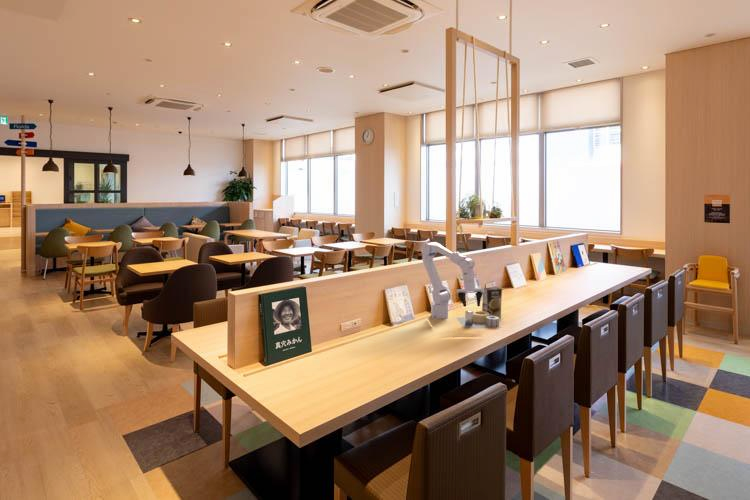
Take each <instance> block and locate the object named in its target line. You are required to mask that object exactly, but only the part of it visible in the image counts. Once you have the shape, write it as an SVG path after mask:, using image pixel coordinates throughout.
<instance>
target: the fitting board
mask: <svg viewBox="0 0 750 500" xmlns="http://www.w3.org/2000/svg"><path fill="white" fill-rule="evenodd" d="M472 311H473V325H466V324H465V316H464V317H462V316H461V317H456V319H457V320H458V322H459V323H460V324H461V325H462V327H463V328H464V329H494V328H495V329H497V328H501V329H502V328H504V327H503V326H502V325H501V324H500V316H499V317H498V316H497V315H493V316H490V313H488V312H485V311H482V310H472Z"/></svg>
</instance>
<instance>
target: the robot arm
mask: <svg viewBox="0 0 750 500" xmlns="http://www.w3.org/2000/svg"><path fill="white" fill-rule="evenodd" d="M420 252H421V257H422V259H421V260H422V262H423V264H424V268H425V271H426V273H427V275H428V278H429V280H430V283H431V286H432V288H433V289H432V290H431V294H432V301H433V302H434V303H431V304H430V316H431V318H432V320H433V319H439V320H440V319H441V320H442V319H443V320H445V319H448V317H449V303H450V302H449V301H450V300H451V297H452V294H451V292H450V291H449V290H448V288H447V287H446V286H445V285H443V283H442V279H441V277H440V275H439V272H438V270H437V268H436V265H435V262H434V257H436V255H437V254H441V255H443V256H445V257H446V258H449V261H450V262H451V263H454V264H455V265H456V266H458V267H459V268H460V270H461V272H462V279H463V280H462V281H463V287H464V288H462V289H456V294H457V296H458V297H459V299H460V301H461V302H462V305H463V306H462V307H467V301H466V300H467V299H466V294H468V293H470V294H473V293H474V294H475V297H476V305H477V307H480V306H481V301H482V298H483V292H484V288H485V287H483V288H482V287H481V288H480V287H479V288H478V287H476V283H475V276H474V275H475V274H474V267H475V265H476V264H475V263H476V262H475V261H474V259H473V258H472V257H467V256H466V255H462V254H460V251H454V252H452V251H451V250H449V249H448V248H446V247H445V246H443V245H442V244H441V243H440V242H437V241H431V242H424V243H423V244H422V245H421V246H420Z"/></svg>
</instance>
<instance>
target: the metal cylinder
mask: <svg viewBox="0 0 750 500" xmlns="http://www.w3.org/2000/svg"><path fill="white" fill-rule="evenodd" d="M473 311H474V310H465V316H464V317H465V324H466V325H473Z"/></svg>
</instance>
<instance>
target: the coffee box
mask: <svg viewBox="0 0 750 500" xmlns="http://www.w3.org/2000/svg"><path fill="white" fill-rule="evenodd" d="M483 288H484V292H483V294H482V305H481V311H485V312H488V313H490V316H497V317H499V318H500V317H501V316H502V300H503V299H502V296H503V295H502V294H503V293H502V292H503V289H502V288H499V287H497V286H495V287H493V286H492V287H483Z"/></svg>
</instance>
